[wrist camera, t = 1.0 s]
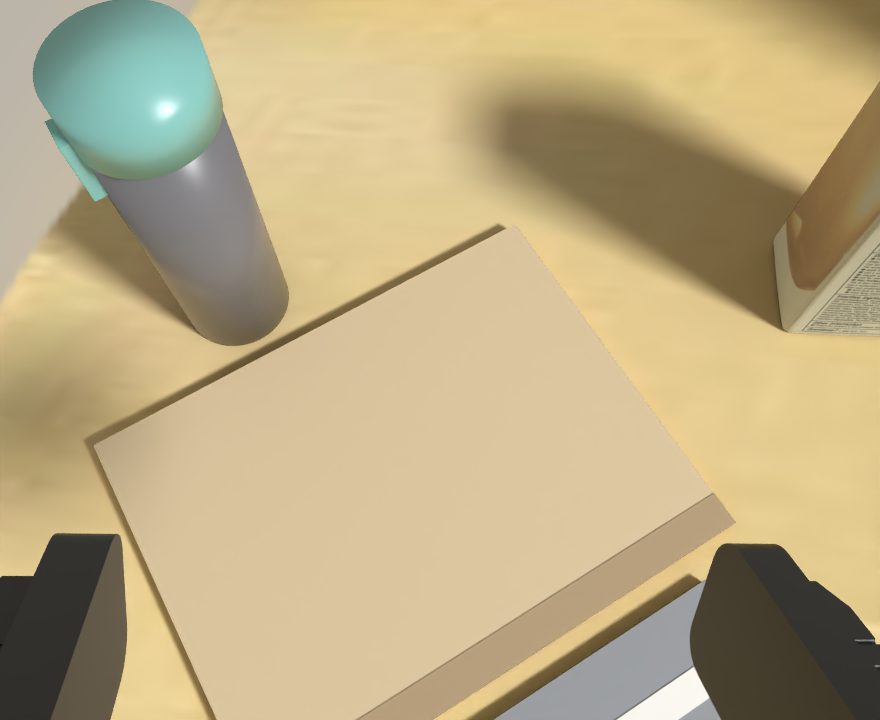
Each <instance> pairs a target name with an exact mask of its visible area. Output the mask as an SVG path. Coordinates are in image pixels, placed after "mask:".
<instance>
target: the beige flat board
mask: <svg viewBox="0 0 880 720" xmlns="http://www.w3.org/2000/svg"><path fill="white" fill-rule="evenodd" d="M93 446H94V448H95V451H96V453H97V455H98V457H99V460H100V462H101V464H102V466H103V468H104V471H105V473H106V475H107V477H108V480H109V482H110V484H111V486H112V488H113V491H114V493H115V495H116V497H117V500H118V502H119V504H120V506H121V508H122V511H123V513H124V515H125V517H126V519H127V522H128V524H129V526H130V528H131V531H132V533H133V535H134V537H135V539H136V542H137V544H138V546H139V548H140V551H141V553H142V555H143V557H144V559H145V562H146V564H147V566H148V568H149V570H150V573H151V575H152V577H153V579H154V582H155V584H156V586H157V588H158V590H159V593H160V595H161V597H162V599H163V602H164V604H165V606H166V608H167V610H168V613H169V615H170V617H171V619H172V622H173V624H174V626H175V628H176V630H177V633H178V635H179V637H180V639H181V641H182V644H183V646H184V648H185V650H186V653H187V655H188V657H189V659H190V661H191V664H192V666H193V668H194V670H195V673H196V675H197V677H198V679H199V681H200V684H201V686H202V688H203V690H204V692H205V695H206V697H207V699H208V701H209V704H210V706H211V708H212V710H213V712H214V715H215V717H216V719H217V720H433V719H434V718H436V717H437V716H439V715H440V714H442V713H444V712H445V711H447V710H448V709H450V708H451V707H453V706H454V705H456V704H457V703H459V702H460V701H462V700H464V699H465V698H467V697H468V696H470V695H471V694H473V693H474V692H476V691H477V690H479V689H480V688H482V687H484V686H485V685H487V684H488V683H490V682H491V681H493V680H494V679H496V678H497V677H499V676H500V675H502V674H504V673H505V672H507V671H508V670H510V669H511V668H513V667H514V666H516V665H517V664H519V663H521V662H522V661H524V660H525V659H527V658H528V657H530V656H531V655H533V654H534V653H536V652H537V651H539V650H541V649H542V648H544V647H545V646H547V645H548V644H550V643H551V642H553V641H554V640H556V639H557V638H559V637H561V636H562V635H564V634H565V633H567V632H568V631H570V630H571V629H573V628H574V627H576V626H577V625H579V624H581V623H582V622H584V621H585V620H587V619H588V618H590V617H591V616H593V615H594V614H596V613H597V612H599V611H601V610H602V609H604V608H605V607H607V606H608V605H610V604H611V603H613V602H614V601H616V600H617V599H619V598H621V597H622V596H624V595H625V594H627V593H628V592H630V591H631V590H633V589H634V588H636V587H637V586H639V585H641V584H642V583H644V582H645V581H647V580H648V579H650V578H651V577H653V576H654V575H656V574H657V573H659V572H661V571H662V570H664V569H665V568H667V567H668V566H670V565H671V564H673V563H674V562H676V561H677V560H679V559H681V558H682V557H684V556H685V555H687V554H688V553H690V552H691V551H693V550H694V549H696V548H697V547H699V546H701V545H702V544H704V543H705V542H707V541H708V540H710V539H711V538H713V537H714V536H716V535H717V534H719V533H721V532H722V531H724V530H725V529H727V528H728V527H730V526H731V525H733V524H734V523H736V522H735V521H734V519H733V518H732V517H731V515H730V514H729V513H728V511H727V510H726V509H725V507H724V506H723V505H722V503H721V502H720V500H719V499H718V498H717V496H716V495H715V494H714V493H713V492H712V490H711V489H710V488H709V486H708V485H707V484H706V482H705V481H704V480H703V478H702V477H701V475H700V474H699V473H698V471H697V470H696V469H695V467H694V466H693V465H692V463H691V462H690V461H689V459H688V458H687V456H686V455H685V454H684V452H683V451H682V450H681V448H680V447H679V446H678V444H677V443H676V442H675V440H674V439H673V437H672V436H671V435H670V433H669V432H668V431H667V429H666V428H665V427H664V425H663V424H662V423H661V421H660V420H659V418H658V417H657V416H656V414H655V413H654V412H653V410H652V409H651V408H650V406H649V405H648V404H647V402H646V401H645V400H644V398H643V397H642V395H641V394H640V393H639V391H638V390H637V389H636V387H635V386H634V385H633V383H632V382H631V381H630V379H629V378H628V376H627V375H626V374H625V372H624V371H623V370H622V368H621V367H620V366H619V364H618V363H617V362H616V360H615V359H614V357H613V356H612V355H611V353H610V352H609V351H608V349H607V348H606V347H605V345H604V344H603V343H602V341H601V340H600V338H599V337H598V336H597V334H596V333H595V332H594V330H593V329H592V328H591V326H590V325H589V324H588V322H587V321H586V319H585V318H584V317H583V315H582V314H581V313H580V311H579V310H578V309H577V307H576V306H575V305H574V303H573V302H572V301H571V299H570V298H569V296H568V295H567V294H566V292H565V291H564V290H563V288H562V287H561V286H560V284H559V283H558V282H557V280H556V279H555V277H554V276H553V275H552V273H551V272H550V271H549V269H548V268H547V267H546V265H545V264H544V263H543V261H542V260H541V258H540V257H539V256H538V254H537V253H536V252H535V250H534V249H533V248H532V246H531V245H530V244H529V242H528V241H527V239H526V238H525V237H524V235H523V234H522V233H521V231H520V230H519V229H518V227H517V226H516V225H515V224H514V225H512V226H510V227H508V228H506V229H504V230H503V231H501V232H499V233H497V234H495V235H493V236H491V237H489V238H487V239H485V240H484V241H482V242H480V243H478V244H476V245H474V246H472V247H470V248H468V249H466V250H464V251H463V252H461V253H459V254H457V255H455V256H453V257H451V258H449V259H447V260H445V261H443V262H442V263H440V264H438V265H436V266H434V267H432V268H430V269H428V270H426V271H424V272H423V273H421V274H419V275H417V276H415V277H413V278H411V279H409V280H407V281H405V282H403V283H402V284H400V285H398V286H396V287H394V288H392V289H390V290H388V291H386V292H384V293H383V294H381V295H379V296H377V297H375V298H373V299H371V300H369V301H367V302H365V303H363V304H362V305H360V306H358V307H356V308H354V309H352V310H350V311H348V312H346V313H344V314H342V315H341V316H339V317H337V318H335V319H333V320H331V321H329V322H327V323H325V324H323V325H322V326H320V327H318V328H316V329H314V330H312V331H310V332H308V333H306V334H304V335H302V336H301V337H299V338H297V339H295V340H293V341H291V342H289V343H287V344H285V345H283V346H281V347H280V348H278V349H276V350H274V351H272V352H270V353H268V354H266V355H264V356H262V357H261V358H259V359H257V360H255V361H253V362H251V363H249V364H247V365H245V366H243V367H241V368H240V369H238V370H236V371H234V372H232V373H230V374H228V375H226V376H224V377H222V378H221V379H219V380H217V381H215V382H213V383H211V384H209V385H207V386H205V387H203V388H201V389H200V390H198V391H196V392H194V393H192V394H190V395H188V396H186V397H184V398H182V399H180V400H179V401H177V402H175V403H173V404H171V405H169V406H167V407H165V408H163V409H161V410H160V411H158V412H156V413H154V414H152V415H150V416H148V417H146V418H144V419H142V420H140V421H139V422H137V423H135V424H133V425H131V426H129V427H127V428H125V429H123V430H121V431H119V432H118V433H116V434H114V435H112V436H110V437H108V438H106V439H104V440H102V441H100V442H99V443H97V444H95V445H93ZM705 582H706V580H704V581H702V582H700V583H699V584H697V585H696V586H694V587H693V588H691V589H690V590H688V591H687V592H685V593H684V594H682V595H681V596H679V597H678V598H676V599H675V600H673V601H672V602H670V603H669V604H667V605H666V606H664V607H663V608H661V609H659V610H658V611H656V612H655V613H653V614H652V615H650V616H649V617H647V618H646V619H644V620H643V621H641V622H640V623H638V624H637V625H635V626H634V627H632V628H631V629H629V630H628V631H626V632H625V633H623V634H622V635H620V636H619V637H617V638H616V639H614V640H613V641H611V642H610V643H608V644H607V645H605V646H603V647H602V648H600V649H599V650H597V651H596V652H594V653H593V654H591V655H590V656H588V657H587V658H585V659H584V660H582V661H581V662H579V663H578V664H576V665H575V666H573V667H572V668H570V669H569V670H567V671H566V672H564V673H563V674H561V675H560V676H558V677H557V678H555V679H554V680H552V681H551V682H549V683H547V684H546V685H544V686H543V687H541V688H540V689H538V690H537V691H535V692H534V693H532V694H531V695H529V696H528V697H526V698H525V699H523V700H522V701H520V702H519V703H517V704H516V705H514V706H513V707H511V708H510V709H508V710H507V711H505V712H504V713H502V714H501V715H499V716H498V717H496V718H495V719H493V720H721V719H720V717H719V715H718V713H717V711H716V709H715V707H714V705H713V703H712V701H711V699H710V698H709V696H708V694H707V692H706V690H705V688H704V686H703V684H702V682H701V680H700V678H699V676H698V674H697V672H696V670H695V667H694V665H693V661H692V657H691V651H690V629H691V625H692V621H693V618H694V615H695V612H696V609H697V606H698V603H699V600H700V597H701V594H702V591H703V588H704V585H705Z"/></svg>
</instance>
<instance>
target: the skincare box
mask: <svg viewBox="0 0 880 720" xmlns="http://www.w3.org/2000/svg"><path fill="white" fill-rule="evenodd" d="M773 245H774V256H775V269H776V280H777V290H778V299H779V307H780V315H781V322H782V327H783V329H784V330H785V331H787V332H791V333H806V334H823V335H846V336H877V337H880V82H879V84H878V85H877V87H876V88H875V90H874V91H873V93H872V94H871V96H870V97H869V98H868V100H867V101H866V103H865V104H864V106H863V107H862V109H861V110H860V112H859V113H858V115H857V116H856V118H855V119H854V121H853V122H852V124H851V125H850V127H849V128H848V130H847V131H846V133H845V134H844V136H843V137H842V138H841V140H840V141H839V143H838V144H837V146H836V147H835V149H834V150H833V152H832V153H831V155H830V156H829V158H828V159H827V161H826V162H825V164H824V165H823V167H822V168H821V170H820V171H819V173H818V174H817V176H816V177H815V179H814V180H813V182H812V183H811V185H810V186H809V188H808V189H807V191H806V192H805V194H804V195H803V197H802V198H801V200H800V201H799V203H798V204H797V205H796V207H795V208H794V210H793V211H792V213H791V214H790V216H789V217H788V219H787V220H786V222H785V223H784V224H783V226H782V228H781V229H780V231H779V232H778V234H777V235H776V236H775V238H774V241H773Z"/></svg>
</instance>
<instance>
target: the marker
mask: <svg viewBox="0 0 880 720" xmlns="http://www.w3.org/2000/svg"><path fill="white" fill-rule="evenodd" d="M33 82H34V87H35V90H36V93H37V95H38V97H39V99H40V101H41V102H42V104H43V105H44V107H45V108H46V110H47V111H48V113H49V114H50V116H51V117H52V119H50V120H48V121H45V123H46V125H47V127H48V129H49V131H50V133H51V135H52V137H53V139H54V141H55V143H56V145H57V147H58V149H59V150H60V152H61V153H62V155H63V156H64V157H65V159H66V160H67V162H68V163H69V165H70V166H71V168H72V169H73V170H74V172H75V173H76V175H77V176H78V178H79V179H80V181H81V182H82V184H83V185H84V186H85V188H86V189H87V191H88V192H89V194H90V195H91V197H92V198H93V200H94V201H95V202H96V201H98V200H100V199H102V198H104V197H106V196H108V197H109V198H110V200H111V201H112V203H113V204H114V206H115V207H116V209H117V211H118V212H119V214H120V215H121V217H122V218H123V220H124V221H125V223H126V224H127V226H128V227H129V229H130V230H131V232H132V233H133V235H134V236H135V238H136V239H137V241H138V243H139V244H140V246H141V247H142V249H143V250H144V252H145V253H146V255H147V256H148V258H149V259H150V261H151V262H152V264H153V265H154V267H155V268H156V270H157V272H158V273H159V275H160V276H161V278H162V279H163V281H164V282H165V284H166V285H167V287H168V288H169V290H170V291H171V293H172V294H173V296H174V297H175V299H176V300H177V302H178V304H179V305H180V307H181V308H182V310H183V311H184V313H185V314H186V316H187V317H188V319H189V320H190V322H191V323H192V325H193V326H194V328H195V329H196V330H197V331H198V333H200V334H201V335H202V336H203V337H205V338H206V339H208V340H210V341H212V342H214V343H217V344H221V345H227V346H239V345H245V344H249V343H252V342H255V341H257V340H259V339H261V338H263V337H265V336H266V335H268V334H269V333H270V332H272V331H273V330H274V329H275V328H276V327H277V325H278V324H279V323H280V322H281V320H282V318H283V317H284V314H285V312H286V310H287V306H288V300H289V292H288V286H287V283H286V280H285V278H284V275H283V272H282V270H281V267H280V264H279V261H278V259H277V256H276V253H275V251H274V248H273V245H272V242H271V240H270V237H269V234H268V232H267V229H266V226H265V223H264V221H263V218H262V215H261V213H260V210H259V207H258V204H257V202H256V199H255V196H254V194H253V191H252V188H251V185H250V183H249V180H248V177H247V175H246V172H245V169H244V166H243V164H242V161H241V158H240V156H239V153H238V150H237V147H236V145H235V142H234V139H233V137H232V134H231V131H230V129H229V126H228V123H227V120H226V118H225V115H224V112H223V103H222V97H221V94H220V91H219V88H218V85H217V83H216V80H215V77H214V74H213V71H212V69H211V66H210V63H209V60H208V58H207V55H206V52H205V49H204V47H203V44H202V41H201V38H200V36H199V34H198V32H197V30H196V28H195V27H194V26H193V24H192V23H191V22H190V21H189V20H188V19H187V18H186V17H185V16H184V15H182V14H181V13H180V12H178V11H177V10H175V9H173V8H171V7H169V6H166V5H164V4H161V3H158V2H154V1H150V0H112V1H107V2H103V3H99V4H96V5H93V6H90V7H87V8H85V9H83V10H81V11H79V12H77V13H75V14H74V15H72V16H70V17H68V18H67V19H66V20H64V21H63V22H62V23H60V24H59V26H57V27H56V28H55V29H54V30H53V31H52V32H51V33H50V34H49V36H48V37H47V38H46V39H45V41H44V42H43V44H42V45H41V47H40V49H39V51H38V53H37V56H36V59H35V62H34V68H33Z"/></svg>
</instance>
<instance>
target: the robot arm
mask: <svg viewBox="0 0 880 720" xmlns="http://www.w3.org/2000/svg"><path fill="white" fill-rule="evenodd" d="M126 643H127V618H126V601H125V584H124V568H123V551H122V542H121V538H120V536H119V535H118V534H70V533H56V534H54V535H53V536H52V538H51V539H50V541H49V543H48V545H47V547H46V550H45V552H44V554H43V556H42V559H41V561H40V563H39V565H38V567H37V570H36V572H35V574H34V576H2V577H1V578H0V720H110V719H111V715H112V712H113V708H114V704H115V700H116V697H117V693H118V689H119V685H120V682H121V678H122V673H123V668H124V662H125V654H126ZM690 651H691V657H692V661H693V665H694V667H695V670H696V672H697V674H698V676H699V678H700V680H701V682H702V684H703V686H704V688H705V690H706V692H707V694H708V696H709V698H710V699H711V701H712V703H713V705H714V707H715V709H716V711H717V713H718V715H719V717H720V719H721V720H880V644H876V643H875V638H874V636H873V635H872V634H871V633H870V631H869V630H868V629H867V628H866V626H865V625H864V624H863V623H862V621H861V620H860V619H859V618H858V616H857V615H856V614H855V613H854V611H853V610H852V609H851V608H850V607H849V606H848V605H846V604H845V603H844V602H842V601H841V600H840V599H839V598H837V597H836V596H835V595H833V594H832V593H831V592H829V591H828V590H827V589H825V588H824V587H823V586H822V585H820V584H819V583H818V582H816V581H809V580H808V579H807V577H806V576H805V575H804V573H803V572H802V571H801V570H800V568H799V567H798V566H797V564H796V563H795V562H794V560H793V559H792V558H791V557H790V555H789V554H788V553H787V552H786V550H785V549H784V548H782V547H781V546H779V545H777V544H732V543H727V544H723V545H721V546H720V547H719V548H718V550H717V551H716V553H715V556H714V558H713V561H712V564H711V567H710V570H709V573H708V576H707V579H706V582H705V585H704V588H703V591H702V594H701V597H700V600H699V603H698V606H697V609H696V612H695V615H694V618H693V621H692V625H691V629H690Z"/></svg>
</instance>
